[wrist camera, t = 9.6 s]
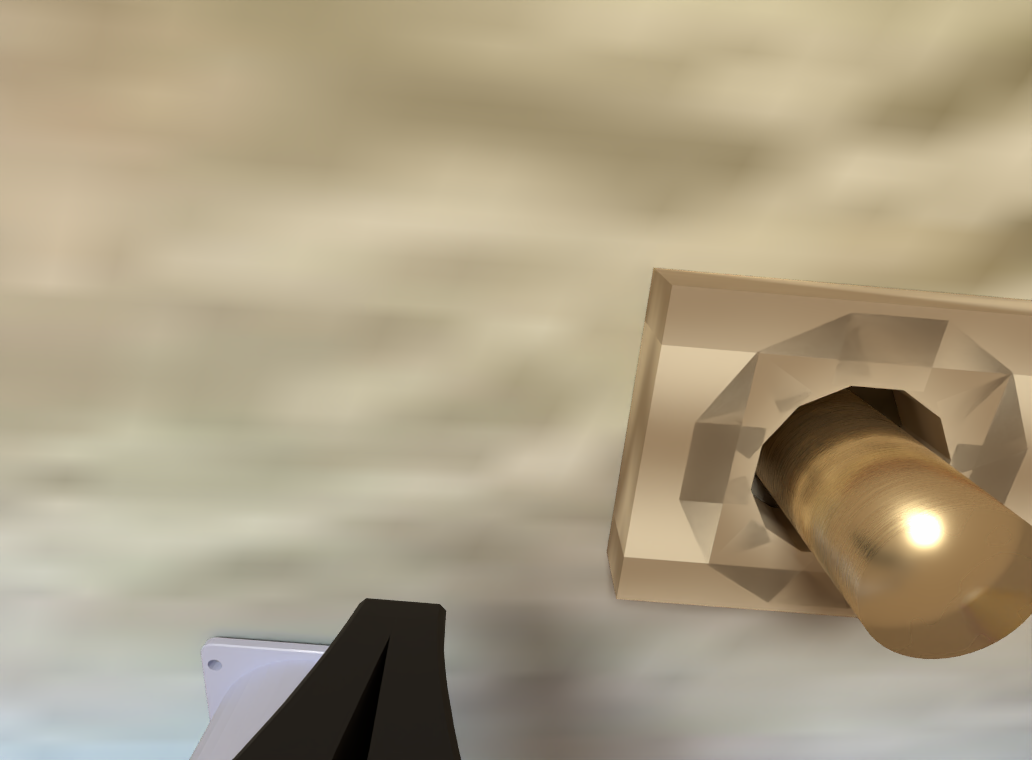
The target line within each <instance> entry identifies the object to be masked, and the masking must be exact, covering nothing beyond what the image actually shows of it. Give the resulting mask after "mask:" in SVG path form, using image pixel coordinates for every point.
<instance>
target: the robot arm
mask: <svg viewBox="0 0 1032 760" xmlns="http://www.w3.org/2000/svg"><path fill="white" fill-rule="evenodd" d="M445 620H446V610H445V609H444V608H443V607H442V606H441V605H440V604H431V603H419V602H406V601H394V600H381V599H369V598H366V599H365V600H364V601H362V602H361V603H360V604H359V605H358V607H357V608H356V610H355V611H354V613H353V614H352V616H351V617H350V619H349V620H348V621H347V623H346V624H345V626H344V627H343V628H342V630H341V631H340V633H339V634H338V635H337V637H336V638H335V639H334V641H333V642H332V643H331V645H330V646H326V645H313V644H299V643H286V642H273V641H259V640H246V639H233V638H219V637H215V638H210V639H208V640H207V641H206V642H205V644H204V645H203V647H202V649H201V659H202V666H203V673H204V681H205V688H206V696H207V703H208V710H209V718H210V723H209V725H208V727H207V728H206V730H205V732H204V734H203V736H202V738H201V739H200V741H199V743H198V745H197V747H196V748H195V750H194V752H193V754H192V756H191V758H190V759H189V760H461V757H460V753H459V749H458V744H457V739H456V734H455V729H454V724H453V718H452V712H451V706H450V700H449V694H448V688H447V680H446V671H445V659H444V637H445ZM216 660H217V661H216ZM218 661H219V662H218Z"/></svg>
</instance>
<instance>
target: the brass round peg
mask: <svg viewBox="0 0 1032 760" xmlns="http://www.w3.org/2000/svg"><path fill="white" fill-rule="evenodd" d="M755 473H756V474H757V476H758V477H759V479H760V480H761V481H762V483H763V484H764V486H765V487H766V489H767V490H768V491H769V493H770V494H771V496H772V497H773V498H774V500H775V501H776V503H777V504H778V505H779V507H780V508H781V510H782V511H783V512H784V514H785V515H786V517H787V518H788V520H789V521H790V522H791V524H792V525H793V527H794V528H795V529H796V531H797V532H798V534H799V535H800V536H801V538H802V539H803V541H804V542H805V544H806V545H807V546H808V548H809V549H810V551H811V552H812V553H813V555H814V556H815V558H816V559H817V560H818V562H819V563H820V565H821V566H822V567H823V569H824V570H825V572H826V573H827V575H828V576H829V577H830V579H831V580H832V582H833V583H834V584H835V586H836V587H837V589H838V590H839V591H840V593H841V594H842V596H843V597H844V599H845V600H846V601H847V603H848V604H849V606H850V607H851V608H852V610H853V611H854V613H855V614H856V615H857V617H858V618H859V620H860V621H861V623H862V624H863V625H864V627H865V628H866V630H867V631H868V632H869V634H870V635H871V636H872V637H873V638H874V639H875V640H876V641H877V642H879V643H880V644H881V645H883V646H884V647H886V648H888V649H890V650H891V651H894V652H896V653H899V654H902V655H905V656H910V657H915V658H923V659H940V658H950V657H956V656H961V655H964V654H968V653H972V652H974V651H977V650H980V649H983V648H985V647H987V646H989V645H991V644H993V643H995V642H997V641H999V640H1000V639H1002V638H1004V637H1005V636H1007V635H1008V634H1010V633H1011V632H1012V631H1014V630H1015V629H1016V628H1017V627H1019V626H1020V625H1021V624H1022V623H1023V622H1024V621H1025V620H1026V619H1027V618H1028V617H1029V616H1030V615H1031V614H1032V526H1031V525H1030V524H1029V523H1028V522H1026V521H1025V520H1024V519H1022V518H1021V517H1020V516H1018V515H1017V514H1015V513H1014V512H1013V511H1011V510H1010V509H1009V508H1007V507H1006V506H1005V505H1003V504H1002V503H1001V502H999V501H998V500H997V499H995V498H994V497H993V496H991V495H990V494H989V493H987V492H986V491H985V490H983V489H982V488H981V487H979V486H978V485H976V484H975V483H974V482H972V481H971V480H970V479H968V478H967V477H966V476H964V475H963V474H962V473H960V472H959V471H958V470H956V469H955V468H954V467H952V466H951V465H950V464H948V463H947V462H946V461H944V460H943V459H942V458H940V457H939V456H937V455H936V454H935V453H933V452H932V451H931V450H929V449H928V448H927V447H925V446H924V445H923V444H921V443H920V442H919V441H917V440H916V439H915V438H913V437H912V436H911V435H909V434H908V433H907V432H905V431H904V430H903V429H901V428H900V427H898V426H897V425H896V424H894V423H893V422H892V421H890V420H889V419H888V418H886V417H885V416H884V415H882V414H881V413H880V412H878V411H877V410H876V409H874V408H873V407H872V406H870V405H869V404H868V403H866V402H865V401H864V400H862V399H861V398H860V397H858V396H857V395H855V394H854V393H852V392H851V391H849V390H846V389H842V390H839V391H837V392H834V393H832V394H829V395H827V396H824V397H821V398H819V399H816V400H814V401H811V402H809V403H806V404H804V405H801V406H799V407H798V408H797V409H796V410H795V411H794V412H793V413H792V414H791V415H790V416H789V417H788V418H787V419H786V420H785V421H784V422H783V424H782V425H781V426H780V427H779V428H778V429H777V430H776V431H775V432H774V433H773V434H772V435H771V436H770V437H769V438H768V439H767V440H766V441H765V443H764V444H763V445H762V447H761V451H760V455H759V459H758V463H757V467H756V471H755Z"/></svg>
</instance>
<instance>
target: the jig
mask: <svg viewBox="0 0 1032 760" xmlns="http://www.w3.org/2000/svg"><path fill="white" fill-rule="evenodd" d="M849 386H860V387H872V388H884V389H892V390H893V394H894V398H895V402H896V405H897V409H898V413H899V416H900V420H901V424H902V425H901V429H903V430H904V431H905V432H907V433H908V434H909V435H911V436H912V437H913V438H915V439H916V440H917V441H919V442H920V443H921V444H923V445H924V446H925V447H927V448H928V449H929V450H931V451H932V452H933V453H935V454H936V455H937V456H939V457H940V458H942V459H943V460H944V461H946V462H947V463H948V464H950V465H951V466H952V467H954V468H955V469H956V470H958V471H959V472H960V473H962V474H963V475H964V476H966V477H967V478H968V479H970V480H971V481H972V482H974V483H975V484H976V485H978V486H979V487H981V488H982V489H983V490H985V491H986V492H987V493H989V494H990V495H991V496H993V497H994V498H995V499H997V500H998V501H999V502H1001V503H1002V504H1003V505H1005V506H1006V507H1007V508H1009V509H1010V510H1011V511H1013V512H1014V513H1015V514H1017V515H1018V516H1020V517H1021V518H1022V519H1024V520H1025V521H1026V522H1028V523H1029V524H1030V525H1031V526H1032V300H1022V299H1011V298H999V297H987V296H976V295H964V294H952V293H941V292H929V291H917V290H906V289H894V288H883V287H871V286H859V285H848V284H836V283H824V282H813V281H801V280H790V279H778V278H766V277H755V276H743V275H731V274H720V273H708V272H697V271H685V270H673V269H662V268H654V269H653V275H652V281H651V287H650V293H649V299H648V305H647V311H646V317H645V323H644V329H643V335H642V341H641V347H640V354H639V360H638V366H637V372H636V378H635V384H634V390H633V396H632V402H631V408H630V414H629V420H628V426H627V432H626V438H625V444H624V451H623V457H622V463H621V469H620V475H619V481H618V487H617V493H616V499H615V505H614V511H613V517H612V523H611V529H610V535H609V541H608V548H607V554H608V559H609V564H610V569H611V574H612V579H613V584H614V589H615V594H616V599H624V600H637V601H650V602H663V603H676V604H689V605H702V606H715V607H728V608H741V609H754V610H767V611H780V612H793V613H806V614H819V615H832V616H845V617H857V615H856V614H855V613H854V611H853V610H852V608H851V607H850V606H849V604H848V603H847V601H846V600H845V599H844V597H843V596H842V594H841V593H840V591H839V590H838V589H837V587H836V586H835V584H834V583H833V582H832V580H831V579H830V577H829V576H828V575H827V573H826V572H825V570H824V569H823V567H822V566H821V565H820V563H819V562H818V560H817V559H816V558H815V556H814V555H813V553H812V552H811V551H810V549H809V548H808V546H807V545H806V544H805V542H804V541H803V539H802V538H801V536H800V535H799V534H798V532H797V531H796V529H795V528H794V527H793V525H792V524H791V522H790V521H789V520H788V518H787V517H786V515H785V514H784V512H783V511H782V510H781V508H773V507H770V506H768V505H767V504H765V503H764V502H762V501H761V500H759V499H758V498H756V497H755V496H753V494H752V492H751V486H752V482H753V478H754V475H755V471H756V467H757V463H758V459H759V455H760V451H761V447H762V445H763V444H764V443H765V441H766V440H767V439H768V438H769V437H770V436H771V435H772V434H773V433H774V432H775V431H776V430H777V429H778V428H779V427H780V426H781V425H782V424H783V422H784V421H785V420H786V419H787V418H788V417H789V416H790V415H791V414H792V413H793V412H794V411H795V410H796V409H797V408H798V407H799V406H801V405H804V404H806V403H809V402H811V401H814V400H816V399H819V398H821V397H824V396H827V395H829V394H832V393H834V392H837V391H839V390H842V389H844V388H847V387H849Z"/></svg>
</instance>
